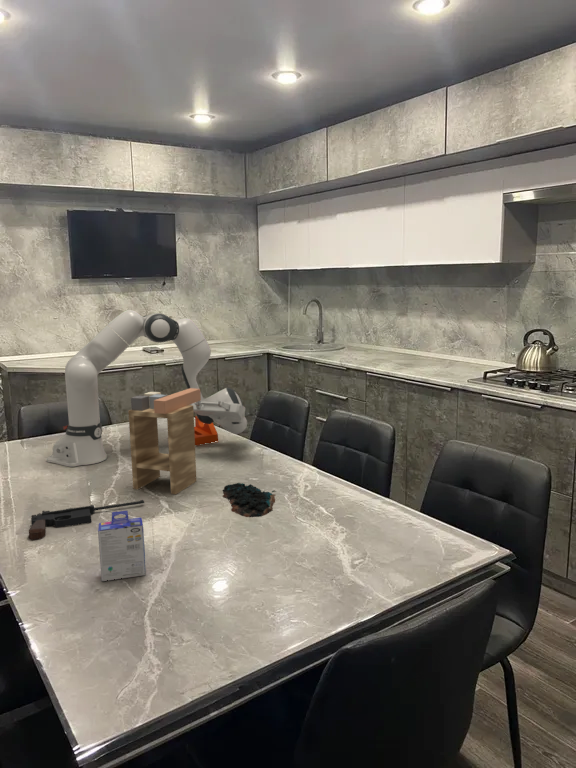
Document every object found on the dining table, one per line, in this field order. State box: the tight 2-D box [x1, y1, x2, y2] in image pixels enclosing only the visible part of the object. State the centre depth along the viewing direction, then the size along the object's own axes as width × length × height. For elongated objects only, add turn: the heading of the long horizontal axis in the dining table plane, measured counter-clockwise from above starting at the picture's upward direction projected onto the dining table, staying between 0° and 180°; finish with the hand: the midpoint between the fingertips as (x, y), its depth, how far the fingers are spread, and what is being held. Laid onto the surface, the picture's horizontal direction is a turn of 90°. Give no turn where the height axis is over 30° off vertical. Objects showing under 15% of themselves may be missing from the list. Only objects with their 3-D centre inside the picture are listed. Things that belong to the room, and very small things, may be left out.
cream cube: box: [143, 391, 162, 406], centre depth 196 cm, size 4×4×4 cm
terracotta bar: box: [154, 388, 202, 414], centre depth 193 cm, size 4×22×4 cm, turn 159°
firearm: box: [28, 499, 145, 541], centre depth 167 cm, size 32×3×15 cm
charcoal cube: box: [130, 395, 149, 411], centre depth 189 cm, size 4×4×4 cm
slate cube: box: [149, 394, 168, 409], centre depth 191 cm, size 4×4×4 cm
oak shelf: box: [127, 404, 197, 495], centre depth 193 cm, size 16×13×26 cm
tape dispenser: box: [194, 415, 219, 446], centre depth 251 cm, size 18×13×8 cm
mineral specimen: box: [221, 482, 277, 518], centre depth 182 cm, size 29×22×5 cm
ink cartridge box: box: [97, 510, 146, 582], centre depth 135 cm, size 10×6×14 cm, turn 107°
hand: (208, 402), depth 214 cm, fingers open, 8 cm apart
